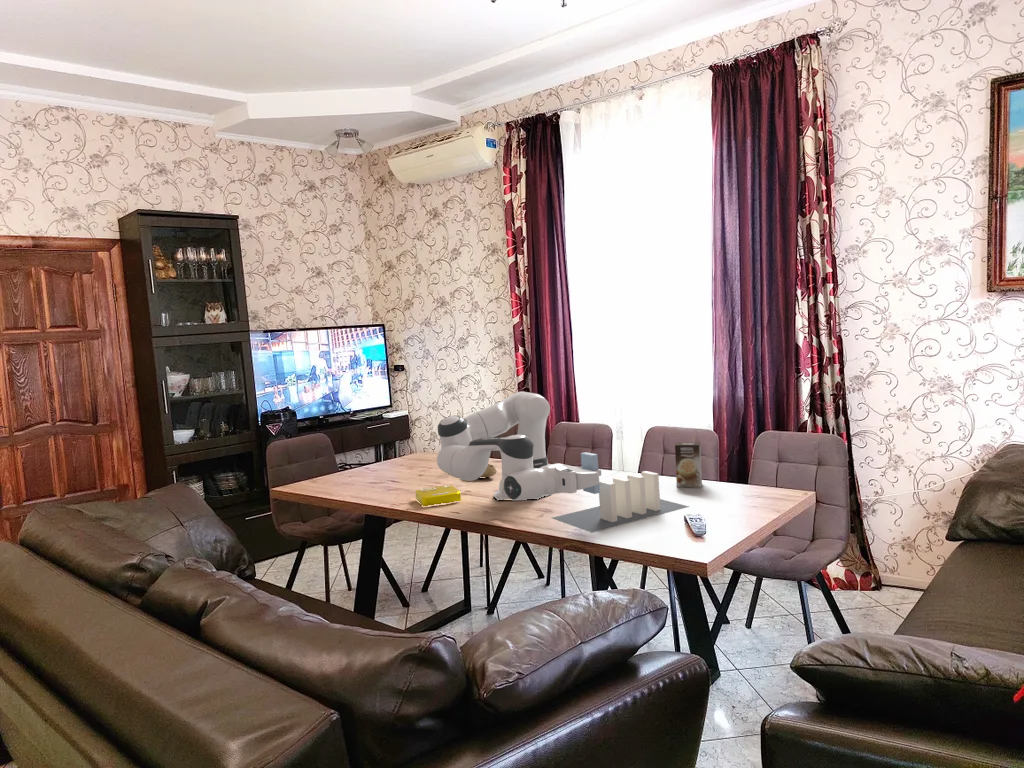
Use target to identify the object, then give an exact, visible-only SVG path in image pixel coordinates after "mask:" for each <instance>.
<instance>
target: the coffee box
mask: <svg viewBox="0 0 1024 768" xmlns="http://www.w3.org/2000/svg"><path fill="white" fill-rule="evenodd" d="M674 451H675V452H674V453H675V454H674V455H675V474H676V475H675V477H676V479H675V480H676V485H675V487H676V488H702V485H703V482H702V481H703V480H702V479H703V478H702V454H701V451H702V449H701V442H700V441H676V442H675V444H674Z"/></svg>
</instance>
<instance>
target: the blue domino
mask: <svg viewBox="0 0 1024 768" xmlns="http://www.w3.org/2000/svg"><path fill="white" fill-rule="evenodd" d="M598 455H599V454H597V453H592V452H587V451H585V452H581V453H580V465H581V466H582V469H586V470H591V471H594V470H600V469H599V458H598V457H599V456H598ZM582 490H583V492H586V493H590V494H594V495H597V494H599V493H600V484H599V483H598V484H597V485H595V486H592V487H589V488H585V489H582Z"/></svg>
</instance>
